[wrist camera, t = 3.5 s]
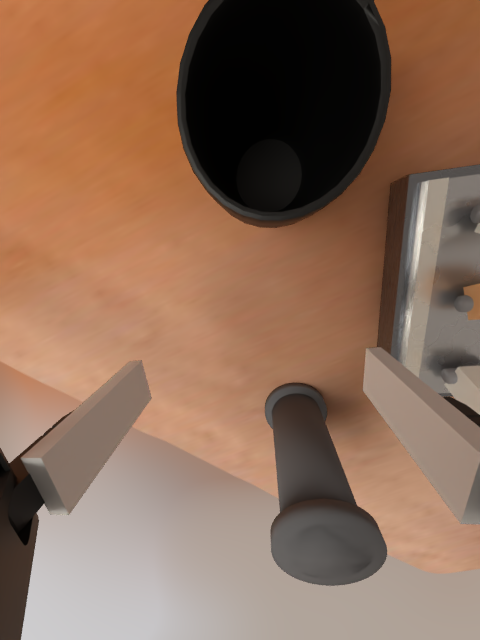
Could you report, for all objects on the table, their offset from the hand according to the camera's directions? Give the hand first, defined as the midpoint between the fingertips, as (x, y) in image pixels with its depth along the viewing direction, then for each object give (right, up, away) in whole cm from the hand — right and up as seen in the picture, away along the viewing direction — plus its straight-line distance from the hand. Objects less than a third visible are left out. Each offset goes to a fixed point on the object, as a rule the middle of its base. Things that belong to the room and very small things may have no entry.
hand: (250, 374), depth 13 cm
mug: (+3, +16, +4) cm, 17 cm away
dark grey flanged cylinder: (+5, -6, +11) cm, 14 cm away
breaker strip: (+17, +6, +6) cm, 19 cm away
